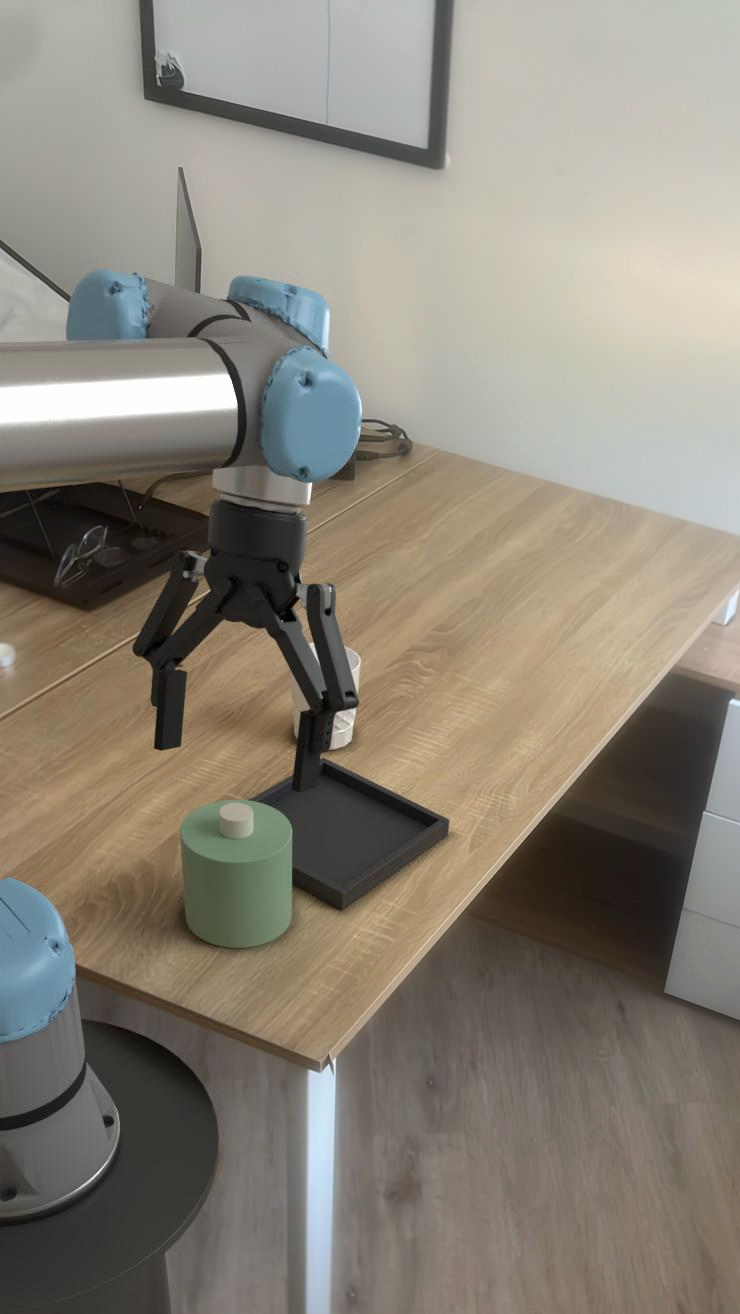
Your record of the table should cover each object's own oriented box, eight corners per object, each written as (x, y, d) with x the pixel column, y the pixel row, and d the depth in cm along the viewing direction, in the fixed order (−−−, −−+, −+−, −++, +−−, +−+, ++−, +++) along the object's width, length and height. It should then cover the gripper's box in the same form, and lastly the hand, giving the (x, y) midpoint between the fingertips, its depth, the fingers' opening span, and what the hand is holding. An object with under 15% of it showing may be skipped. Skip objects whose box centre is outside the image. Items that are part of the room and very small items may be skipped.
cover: (241, 962, 117) (238, 857, 110) (163, 917, 121) (154, 812, 113) (313, 913, 124) (315, 811, 117) (237, 871, 128) (234, 769, 120)
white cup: (312, 759, 145) (313, 681, 139) (276, 727, 149) (276, 650, 143) (370, 743, 149) (374, 666, 143) (334, 712, 154) (336, 636, 147)
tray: (342, 910, 125) (342, 893, 124) (210, 838, 131) (209, 821, 130) (448, 835, 137) (449, 819, 136) (322, 773, 143) (323, 757, 142)
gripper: (424, 536, 99) (386, 798, 106) (159, 476, 106) (141, 726, 113) (377, 534, 92) (340, 814, 100) (98, 470, 99) (83, 736, 107)
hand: (234, 768), depth 107 cm, fingers open, 13 cm apart
